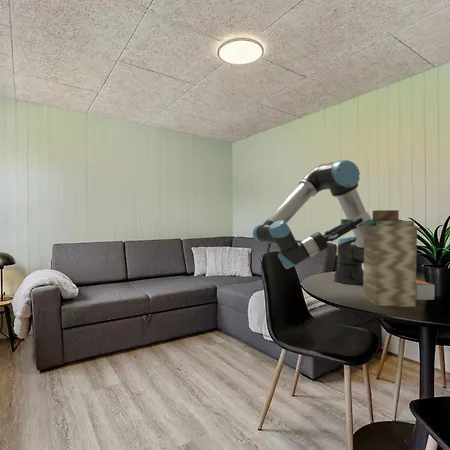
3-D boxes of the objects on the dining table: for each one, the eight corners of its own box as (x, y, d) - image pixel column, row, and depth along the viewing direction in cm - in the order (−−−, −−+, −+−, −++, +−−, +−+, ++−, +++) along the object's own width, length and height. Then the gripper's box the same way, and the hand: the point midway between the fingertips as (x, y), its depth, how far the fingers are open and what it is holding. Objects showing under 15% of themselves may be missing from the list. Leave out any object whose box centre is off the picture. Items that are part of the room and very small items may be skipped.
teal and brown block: (344, 225, 118) (344, 210, 117) (339, 225, 125) (339, 210, 124) (398, 225, 115) (398, 210, 115) (390, 225, 122) (390, 210, 122)
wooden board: (376, 305, 114) (377, 220, 113) (363, 295, 128) (364, 220, 127) (415, 306, 112) (417, 221, 111) (398, 296, 126) (399, 220, 125)
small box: (411, 277, 135) (435, 284, 122) (411, 291, 135) (434, 300, 122) (394, 278, 134) (416, 284, 121) (394, 292, 134) (416, 300, 121)
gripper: (315, 250, 130) (365, 223, 128) (323, 254, 115) (380, 224, 112) (307, 234, 130) (356, 207, 128) (313, 237, 115) (370, 206, 112)
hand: (367, 215), depth 120 cm, fingers closed on teal and brown block, 2 cm apart
